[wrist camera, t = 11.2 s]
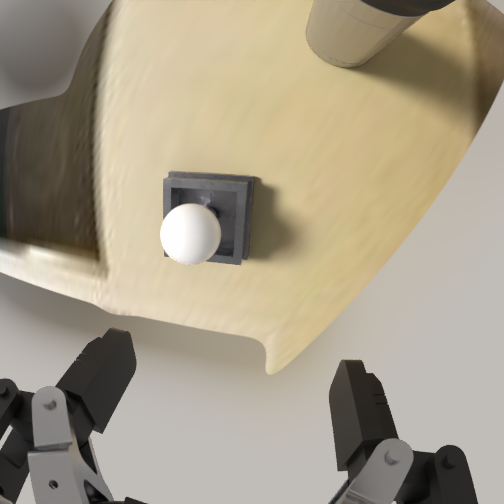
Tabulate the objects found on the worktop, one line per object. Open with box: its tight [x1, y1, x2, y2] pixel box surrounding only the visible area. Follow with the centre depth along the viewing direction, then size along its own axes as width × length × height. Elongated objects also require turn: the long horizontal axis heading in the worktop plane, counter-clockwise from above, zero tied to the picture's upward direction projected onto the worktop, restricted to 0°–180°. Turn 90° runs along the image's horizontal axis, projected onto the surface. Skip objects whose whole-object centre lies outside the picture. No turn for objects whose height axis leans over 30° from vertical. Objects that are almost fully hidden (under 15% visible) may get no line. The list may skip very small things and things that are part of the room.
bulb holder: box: [163, 171, 254, 265], centre depth 35 cm, size 11×11×4 cm
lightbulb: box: [160, 203, 221, 265], centre depth 31 cm, size 6×6×11 cm
